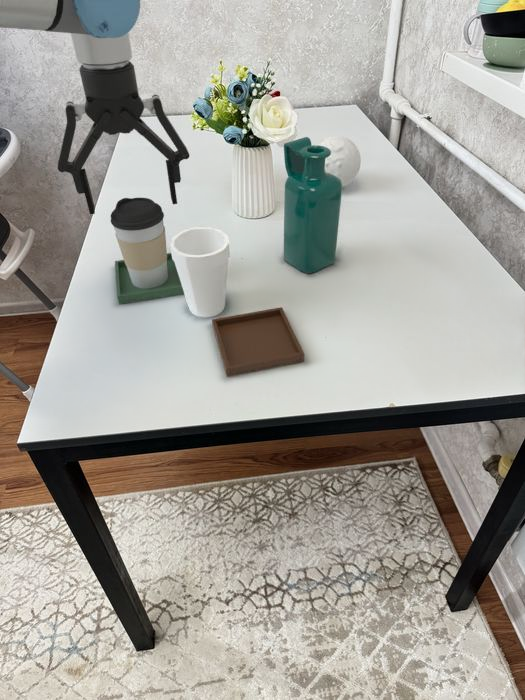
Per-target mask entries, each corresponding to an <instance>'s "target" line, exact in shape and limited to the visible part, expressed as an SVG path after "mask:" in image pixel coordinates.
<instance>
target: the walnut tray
mask: <svg viewBox="0 0 525 700" xmlns="http://www.w3.org/2000/svg"><path fill="white" fill-rule="evenodd" d="M211 325H212V330H213V334H214V337H215V340H216V343H217V347H218V350H219V354H220V358H221V360H222V364H223V368H224V371H225V374H226V377H233V376H238V375H243V374H248V373H249V374H250V373H253V372H258V371H259V372H260V371H263V370H268V369H274V368H278V367H284V366H289V365H294V364H300V363H304V362H305V352H304V350H303V348H302V346H301V344H300V341H299V340H298V338H297V335H296V334H295V331H294V330H293V327H292V325H291V323H290V321H289V319H288V317H287V314H286V312H285V310H284V309H283V307H275V308H270V309H269V308H268V309H263V310H257V311H252V312H246V313H240V314H233V315H229V316H224V317H218V318H217V317H216V318H212V319H211Z"/></svg>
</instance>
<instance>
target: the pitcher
mask: <svg viewBox="0 0 525 700" xmlns="http://www.w3.org/2000/svg"><path fill="white" fill-rule="evenodd" d="M330 155H331V150H330V149H328V148H327V147H324V146H319V145H318V144H316V145H313V144H312V141H311V138H310V137H308V136H304V137H301V138H298V139H293V140H291V141H287V142H285V143H283V157H284V166H285V171H286V174H287V178H286V180H285V182H284V203H283V204H284V210H283V259H284V261H285V262H286V263H288V264H289V265H291V266H293V267H294V268H295V269H297V270H298V271H301V272H302V273H304V274H313V273H315V272H318V271H320V270H322V269H325V268H326V267H328V266H330V265H333V264H334V263H335V261H336V255H337V245H338V244H337V243H338V236H339V235H338V234H339V226H340V217H341V216H340V214H341V204H342V194H343V188H342V182H341V180H340V179H339V178H338V177H336V176H334V175H332V174H330V173H328V172H326V171H325V158H327V157H329V156H330Z"/></svg>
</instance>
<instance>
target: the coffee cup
mask: <svg viewBox="0 0 525 700" xmlns="http://www.w3.org/2000/svg"><path fill="white" fill-rule="evenodd" d="M164 218H165V214H164V211H163V208H162V206H161V205H160V204H158V203H157V202H155V201H154V200H153V199H151V198H147V197H132V198H130V197H123V198H121V199H119V200H118V201H117V202H116V205H115V208H114V209H113V210H112V212H111V213H110V224H111V225H112V226H113V229H114V232H115V238H116V241H117V243H118V247H119V250H120V252H121V253H120V254H121V255H122V260H124V262H125V264H126V266H127V269H128V272H129V275H130V278H131V281H132V283H133V285H134V286H136V287H138V288H143V289H149V288H155V287H158V286H160V285H162V284H163V283H165V282H166V280H167V279H168V271H167V253H168V251H167V250H168V249H167V238H166V237H167V236H166V227H165V225H164Z"/></svg>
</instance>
